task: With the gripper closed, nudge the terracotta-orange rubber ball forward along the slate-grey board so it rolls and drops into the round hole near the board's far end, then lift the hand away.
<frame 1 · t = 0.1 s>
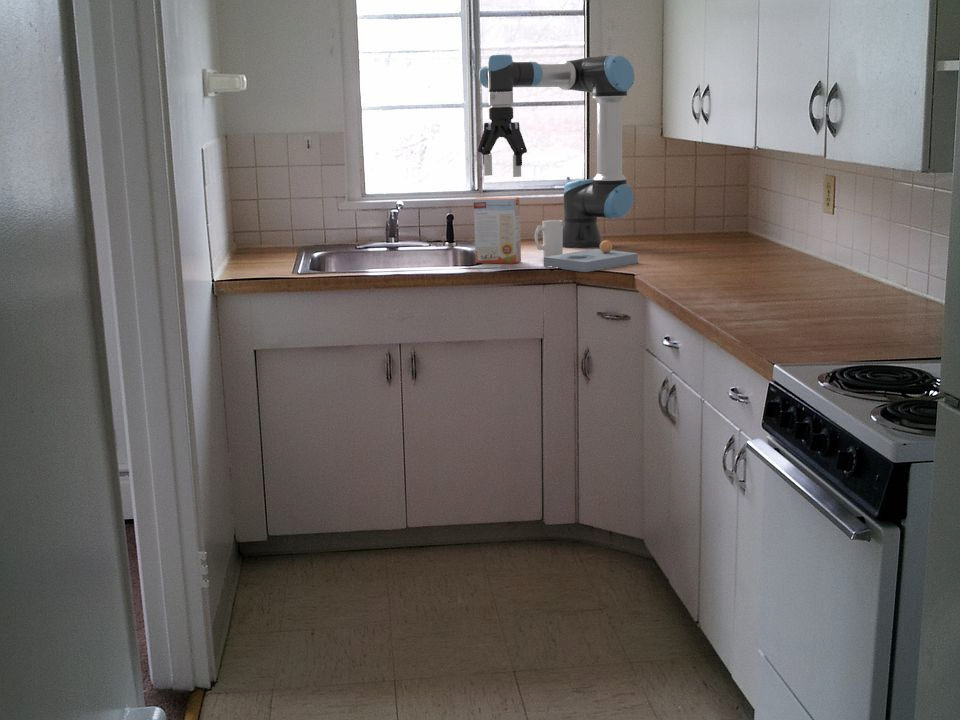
hand: (502, 176, 327), 28 cm above the worktop, fingers open, 13 cm apart
cracker box: (498, 263, 339), on the worktop
mug: (548, 258, 347), on the worktop
ball: (605, 246, 332), point 5 cm above the worktop, touching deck
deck: (590, 264, 328), on the worktop
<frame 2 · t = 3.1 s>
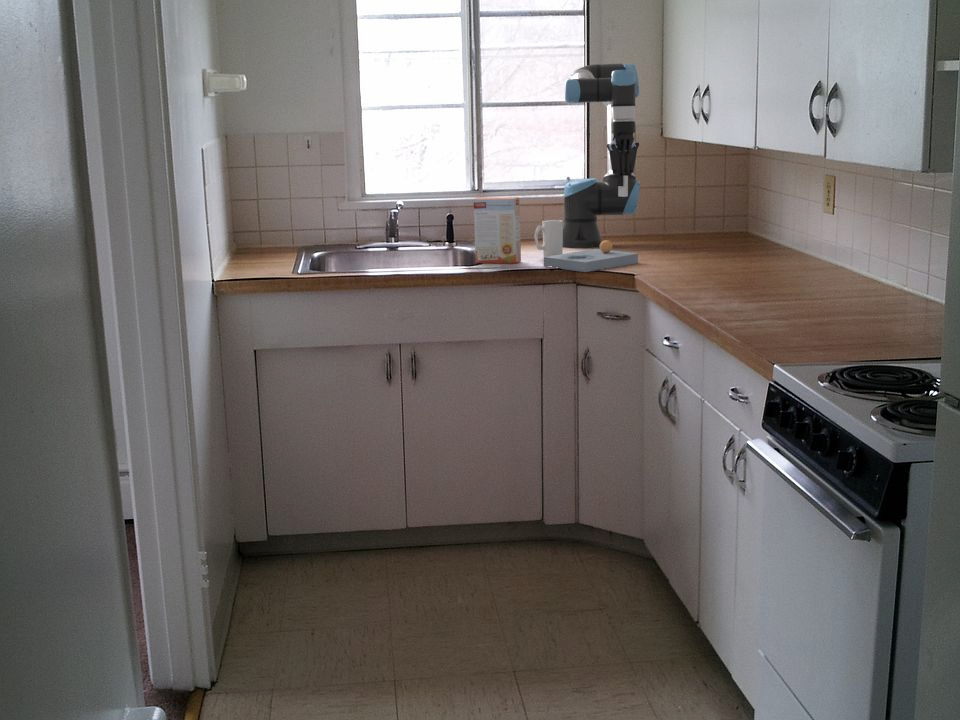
hand: (623, 196, 333), 20 cm above the worktop, fingers closed
nothing on the worktop moved.
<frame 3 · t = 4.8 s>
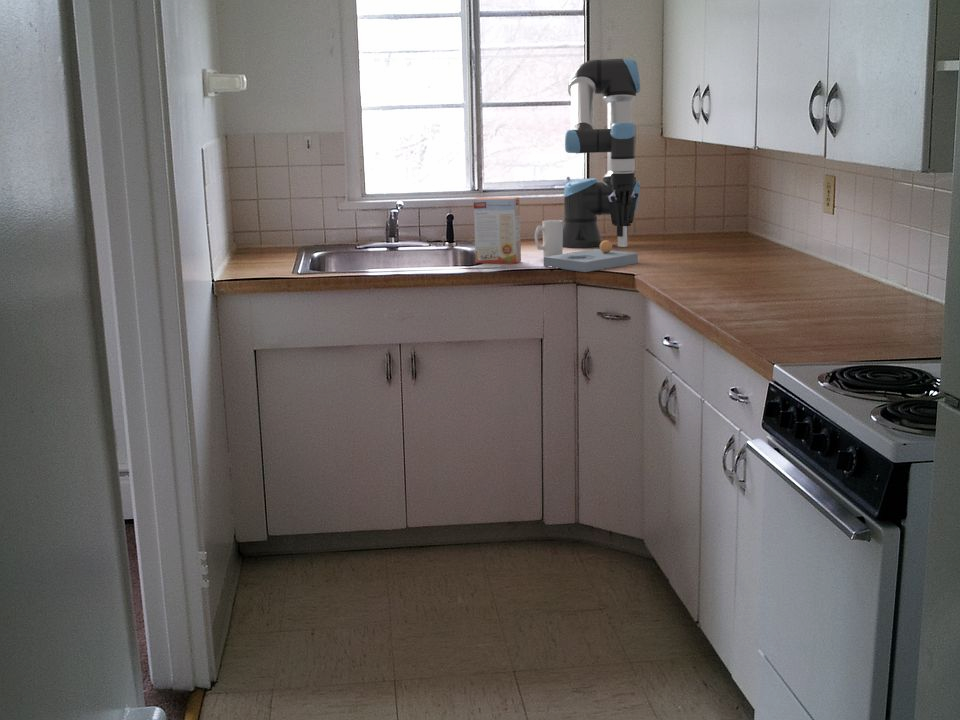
hand: (622, 246, 337), 4 cm above the worktop, fingers closed
nothing on the worktop moved.
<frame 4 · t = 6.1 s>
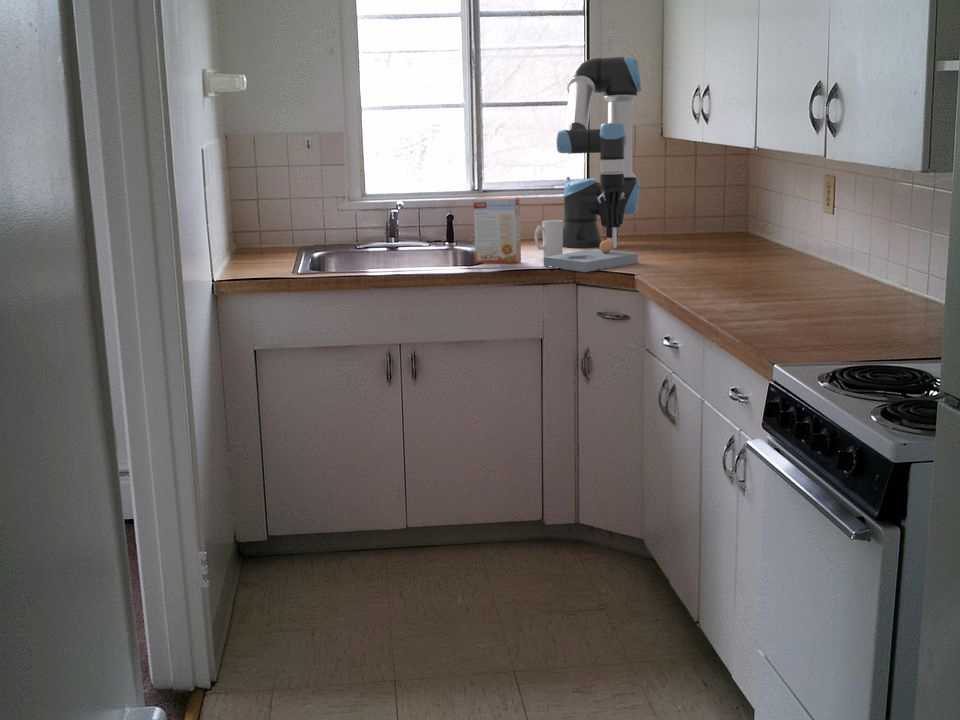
hand: (611, 247, 333), 4 cm above the worktop, fingers closed
ball: (605, 246, 332), point 5 cm above the worktop, touching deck, gripper
everything else where it was.
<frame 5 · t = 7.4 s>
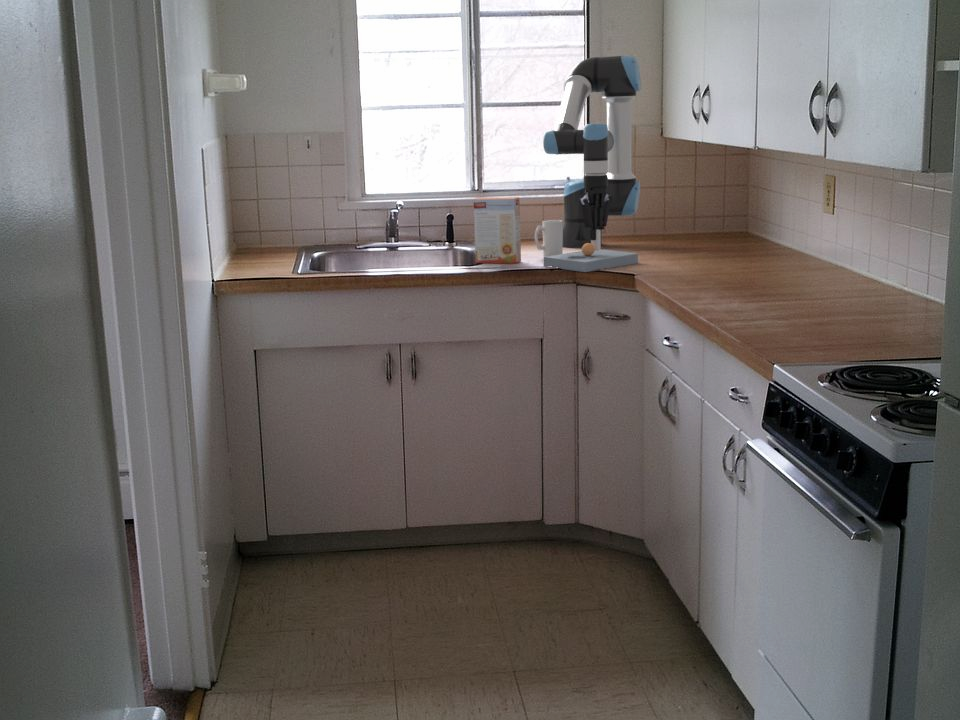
hand: (595, 250, 329), 4 cm above the worktop, fingers closed
ball: (588, 249, 326), point 5 cm above the worktop, tilted 119°, touching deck
everything else where it was.
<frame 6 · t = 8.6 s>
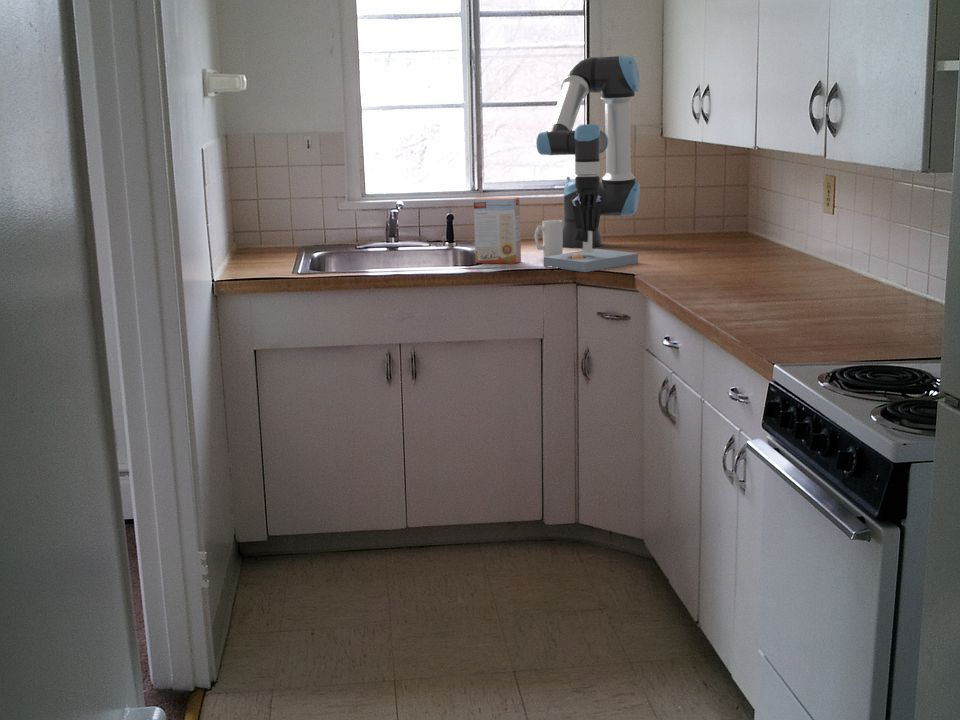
hand: (587, 251, 326), 4 cm above the worktop, fingers closed
ball: (577, 260, 325), point 2 cm above the worktop, tilted 26°
everything else where it was.
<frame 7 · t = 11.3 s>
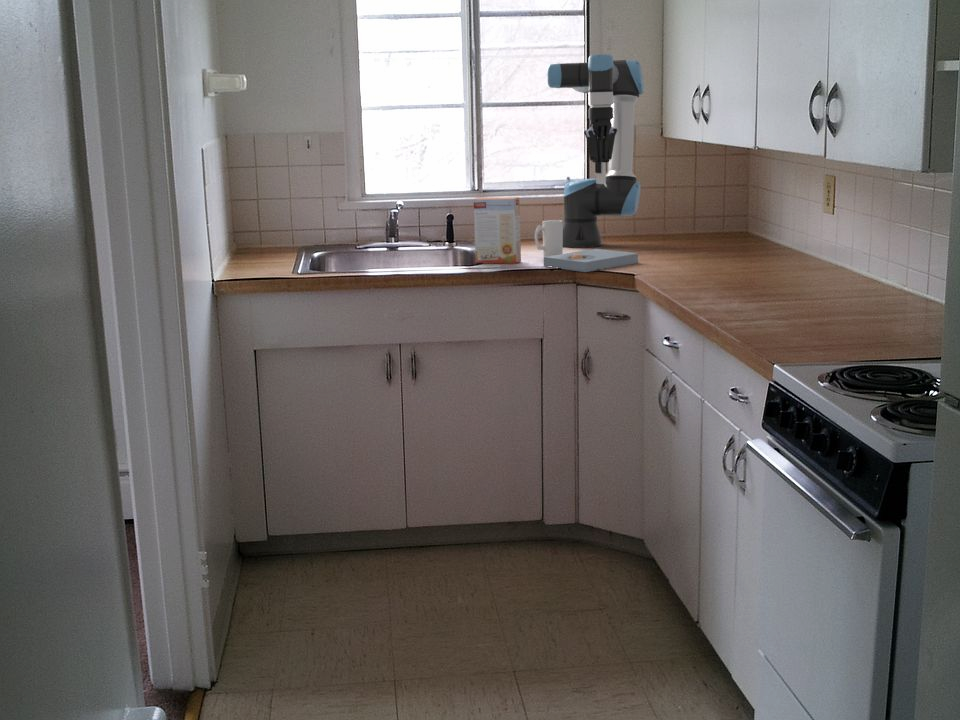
hand: (601, 183, 328), 25 cm above the worktop, fingers closed
ball: (577, 260, 324), point 2 cm above the worktop, tilted 33°
everything else where it was.
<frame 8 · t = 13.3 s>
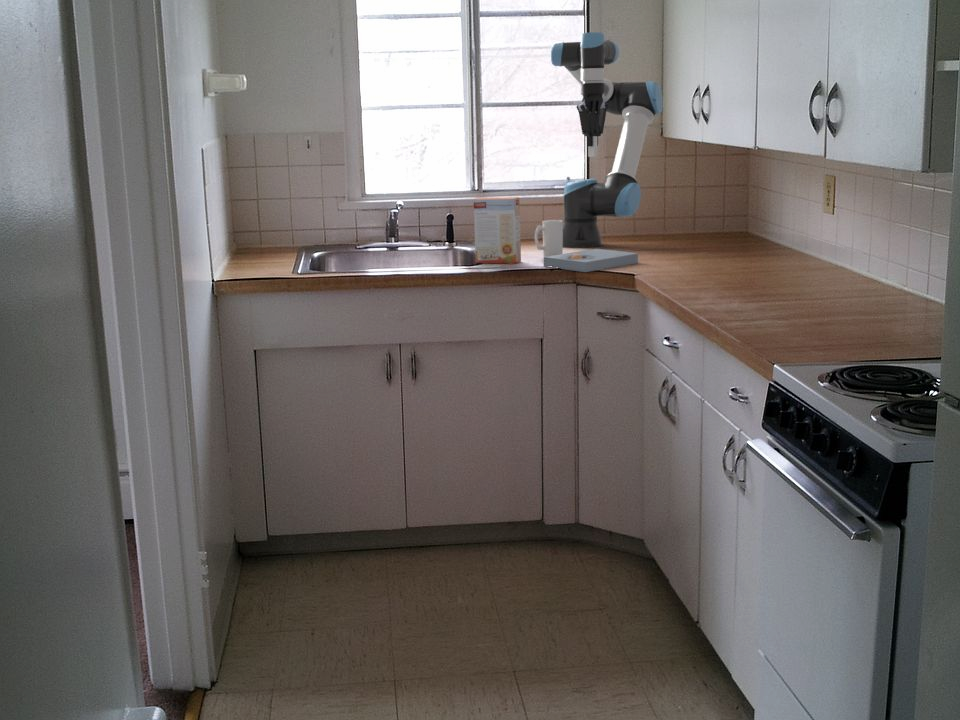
hand: (592, 156, 343), 32 cm above the worktop, fingers closed
ball: (576, 260, 324), point 2 cm above the worktop, tilted 42°
everything else where it was.
at the end: ball 0.3 cm from the target spot in the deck, point 2.0 cm above the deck's base; the gripper is holding nothing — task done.
